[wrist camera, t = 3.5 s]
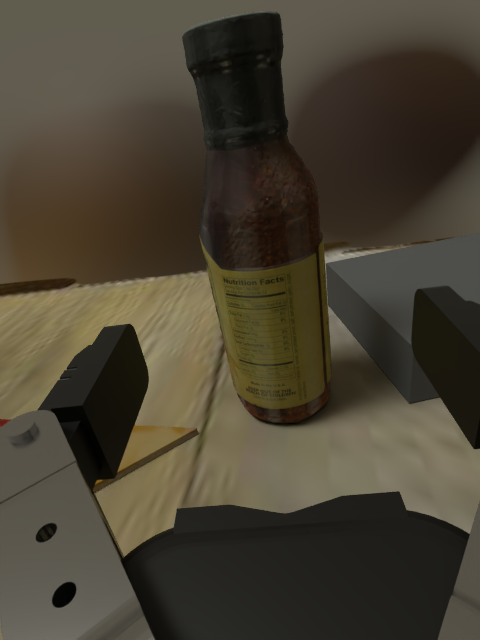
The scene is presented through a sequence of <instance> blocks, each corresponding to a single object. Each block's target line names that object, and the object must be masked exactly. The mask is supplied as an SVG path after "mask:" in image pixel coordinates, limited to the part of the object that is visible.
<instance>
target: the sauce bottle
mask: <svg viewBox="0 0 480 640" xmlns="http://www.w3.org/2000/svg"><path fill="white" fill-rule="evenodd" d="M182 39H183V45H184V49H185V56H186V64H187V68H188V70H189V72H190V73H191V75H192V77H193V79H194V81H195V85H196V89H197V95H198V100H199V107H200V110H201V114H202V121H203V126H204V141H205V145H206V161H205V172H204V184H203V197H202V208H201V220H200V226H199V236H200V240H201V244H202V248H203V253H204V258H205V263H206V266H207V270H208V275H209V280H210V284H211V289H212V294H213V298H214V302H215V306H216V311H217V314H218V318H219V322H220V328H221V332H222V337H223V341H224V345H225V350H226V354H227V358H228V363H229V367H230V372H231V376H232V380H233V384H234V387H235V390H236V391H237V394H238V397H239V399H240V400H241V402H242V404H243V405H244V407H245V408H246V409H247V410H248V411H249V412H250V413H251V414H252V415H253V416H255V417H257V418H259V419H262V420H265V421H269V422H273V423H285V424H286V423H291V422H300V421H302V420H303V419H305V418H307V417H309V416H311V415H312V414H314V413H315V412H316V411H318V410H319V409H320V408H321V407H323V406H324V405H325V404H326V403H327V401H328V398H329V395H330V378H331V372H332V368H331V349H330V333H329V318H328V305H327V290H326V273H325V258H324V243H323V235H322V233H321V232H320V216H319V202H318V191H317V187H316V184H315V181H314V178H313V176H312V175H311V173H310V171H309V170H308V169H307V168H306V167H305V165H304V163H303V161H302V159H301V158H300V157H299V155H298V154H297V153H296V151H295V149H294V147H293V146H292V145H291V144H290V143H289V140H288V136H287V132H288V130H287V128H288V120H287V118H286V115H285V106H284V94H283V84H282V74H281V58H282V54H283V33H282V29H281V18H280V15H279V14H278V13H277V12H271V11H262V12H251V13H244V14H238V15H233V16H228V17H224V18H219V19H214V20H210V21H206V22H203V23H199V24H197V25H194V26H192V27H190V28H189V29H187V30H186V32H185V33H184V35H183V37H182Z"/></svg>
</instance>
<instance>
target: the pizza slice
mask: <svg viewBox="0 0 480 640" xmlns="http://www.w3.org/2000/svg"><path fill="white" fill-rule="evenodd" d="M9 421H11V420H5V419H0V428H1V427H2V426H3V425H5V424H6V423H7V422H9ZM197 434H198V431H197V428H178V427H156V426H135V425H134V427H133V430H132V433H131V436H130V438H129V441H128V444H127V447H126V450H125V452H124V455H123V458H122V461H121V463H120V466H119V469H118V472H117V475H116V477H115V479H105V480H97V481H96V483H95V486H94V488H93V492H96V491H98V490H100V489H101V488H103V487H105V486H107V485H109V484H110V483H112V482H114V481H116V480H117V479H119V478H121V477H123V476H125V475H126V474H128V473H130V472H132V471H133V470H135V469H137V468H139V467H140V466H142V465H144V464H146V463H148V462H149V461H151V460H153V459H155V458H156V457H158V456H160V455H162V454H163V453H165V452H167V451H169V450H171V449H172V448H174V447H176V446H178V445H179V444H181V443H183V442H185V441H186V440H188V439H190V438H192V437H194V436H195V435H197Z"/></svg>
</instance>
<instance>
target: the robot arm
mask: <svg viewBox="0 0 480 640" xmlns="http://www.w3.org/2000/svg"><path fill="white" fill-rule="evenodd" d="M411 344H412V350H413V354H414V357H415V359H416V361H417V362H418V364H419V365H420V367H421V368H422V370H423V372H424V373H425V375H426V376H427V378H428V379H429V381H430V382H431V384H432V385H433V387H434V389H435V390H436V392H437V393H438V395H439V396H440V398H441V399H442V401H443V402H444V404H445V405H446V407H447V409H448V410H449V412H450V413H451V415H452V416H453V418H454V419H455V421H456V422H457V424H458V425H459V427H460V429H461V430H462V432H463V433H464V435H465V436H466V438H467V439H468V441H469V442H470V444H471V445H472V447H473V449H480V304H478V303H475V302H473V301H471V300H470V301H465V300H464V299H463V298H462V297H460V296H459V295H458V294H457V293H456V292H455V291H454V290H453V289H452V288H451V287H449V286H447V285H445V286H437V287H429V288H421V289H417V290H416V292H415V296H414V306H413V320H412V334H411ZM148 382H149V376H148V369H147V365H146V362H145V359H144V356H143V353H142V350H141V347H140V344H139V341H138V338H137V335H136V332H135V329H134V327H133V326H132V325H131V324H124V325H116V326H108V327H104V328H103V329H102V331H101V332H100V334H99V335H98V337H97V338H96V340H95V341H94V343H93V344H92V345H88V346H87V347H86V348H85V349H83V350H82V351H81V352H80V353H78V354H77V355H76V356H75V357H74V358H73V360H72V361H71V362H70V364H69V365H68V367H67V370H65V371H64V373H63V374H62V375H61V377H60V380H58V381H57V383H56V384H55V385H54V387H53V388H52V390H51V391H50V393H49V394H48V396H47V397H46V398H45V400H44V401H43V403H42V404H41V406H40V407H39V409H38V410H37V411H32V412H28V413H25V414H22V415H20V416H18V417H16V418H14V419H12V420H11V421H9V422H7V423H6V424H5V425H3V426H2V427H1V428H0V622H1V629H2V637H3V640H480V502H479V505H478V509H477V512H476V515H475V519H474V522H473V526H472V529H471V532H470V534H469V533H467V532H465V531H464V530H462V529H460V528H458V527H456V526H454V525H452V524H450V523H448V522H445V521H443V520H440V519H437V518H435V517H432V516H429V515H425V514H422V513H418V512H414V511H408V510H406V508H405V505H404V502H403V500H402V497H401V495H400V492H386V493H373V494H360V495H348V496H341V497H338V498H335V499H332V500H329V501H326V502H322V503H319V504H316V505H313V506H310V507H307V508H304V509H301V510H298V511H295V512H292V513H285V514H284V513H276V512H270V511H264V510H258V509H252V508H246V507H240V506H235V505H219V506H206V507H193V508H181V509H177V513H176V518H175V524H174V528H171V529H168V530H166V531H164V532H162V533H159V534H157V535H155V536H153V537H152V538H150V539H148V540H147V541H145V542H143V543H142V544H140V545H139V546H138V547H136V548H135V549H133V550H132V551H131V552H130V553H128V554H127V555H126V556H125V557H124V556H123V553H122V551H121V549H120V547H119V545H118V543H117V541H116V538H115V536H114V534H113V532H112V530H111V528H110V526H109V523H108V521H107V519H106V517H105V515H104V513H103V511H102V508H101V506H100V504H99V502H98V500H97V498H96V496H95V494H94V492H93V488H94V486H95V483H96V481H97V480H105V479H115V477H116V475H117V472H118V469H119V466H120V463H121V461H122V458H123V455H124V452H125V450H126V447H127V444H128V441H129V438H130V436H131V433H132V430H133V427H134V425H135V422H136V419H137V416H138V413H139V411H140V408H141V405H142V402H143V399H144V397H145V394H146V391H147V388H148Z"/></svg>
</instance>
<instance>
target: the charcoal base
mask: <svg viewBox="0 0 480 640" xmlns="http://www.w3.org/2000/svg"><path fill="white" fill-rule="evenodd" d="M326 273H327V295H328V305H329V306H330V308H331V309H332V310H333V311H334V312H335V314H336V315H337V316H338V317H339V319H340V320H341V321H342V322H343V323H344V325H345V326H346V327H347V328H348V329H349V331H350V332H351V333H352V334H353V336H354V337H355V338H356V339H357V340H358V342H359V343H360V344H361V345H362V346H363V348H364V349H365V350H366V351H367V353H368V354H369V355H370V356H371V357H372V359H373V360H374V361H375V362H376V363H377V365H378V366H379V367H380V368H381V370H382V371H383V372H384V373H385V374H386V376H387V377H388V378H389V379H390V381H391V382H392V383H393V384H394V385H395V387H396V388H397V389H398V390H399V391H400V393H401V394H402V395H403V396H404V398H405V399H406V400H407V401H408V402H409V404H410V403H414V402H418V401H423V400H427V399H432V398H436V397H440V396H439V395H438V393H437V392H436V390H435V389H434V387H433V385H432V384H431V382H430V381H429V379H428V378H427V376H426V375H425V373H424V372H423V370H422V368H421V367H420V365H419V364H418V362H417V361H416V359H415V357H414V354H413V350H412V344H411V334H412V320H413V306H414V296H415V292H416V290H417V289H421V288H429V287H437V286H445V285H447V286H449V287H451V288H452V289H453V290H454V291H455V292H456V293H457V294H458V295H459V296H460V297H462V298H463V299H464V300H465V301H470V300H471V301H473V302H475V303H478V304H480V233H476V234H472V235H466V236H461V237H456V238H451V239H446V240H441V241H436V242H431V243H426V244H421V245H416V246H411V247H406V248H401V249H396V250H391V251H386V252H381V253H376V254H371V255H366V256H361V257H355V258H350V259H345V260H340V261H335V262H330V263H326Z"/></svg>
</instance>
